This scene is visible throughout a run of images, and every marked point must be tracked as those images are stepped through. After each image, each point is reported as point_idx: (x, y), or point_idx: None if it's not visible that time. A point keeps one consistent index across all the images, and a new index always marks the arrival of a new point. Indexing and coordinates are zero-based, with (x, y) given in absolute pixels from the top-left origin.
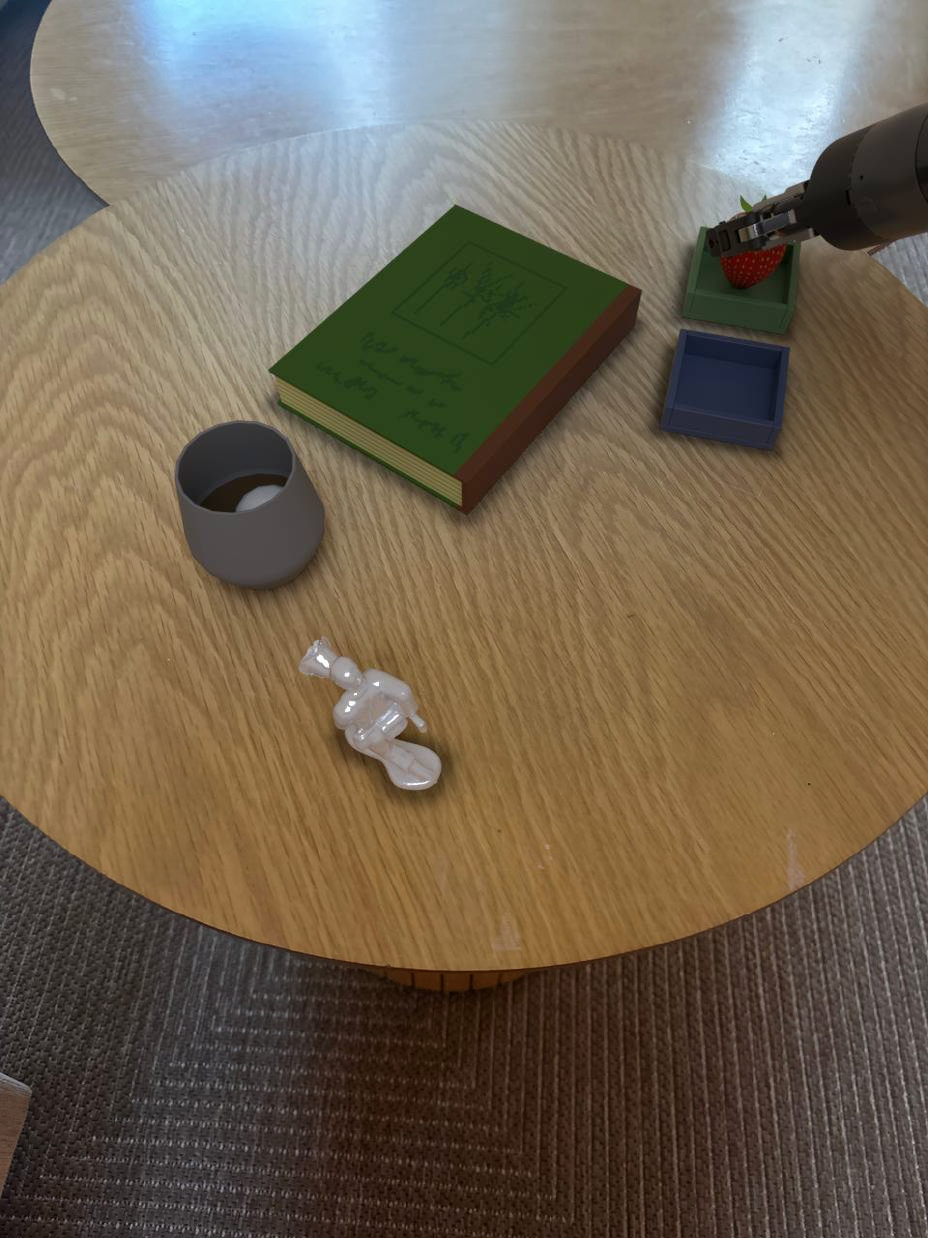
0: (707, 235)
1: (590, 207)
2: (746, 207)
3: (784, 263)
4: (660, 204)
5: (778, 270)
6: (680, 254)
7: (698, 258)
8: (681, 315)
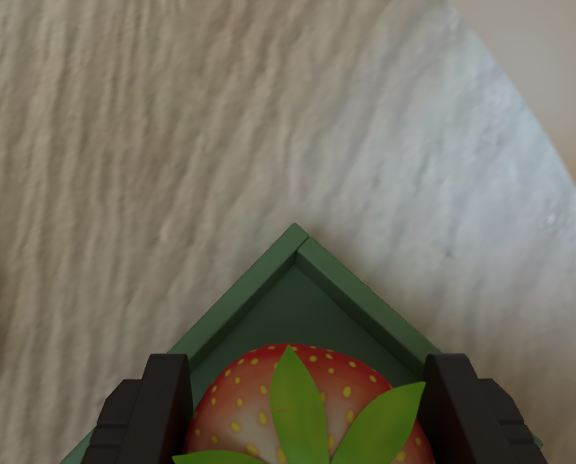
0: (123, 389)
1: (168, 6)
2: (291, 406)
3: None
4: (321, 69)
5: None
6: (254, 237)
7: (194, 342)
8: None
